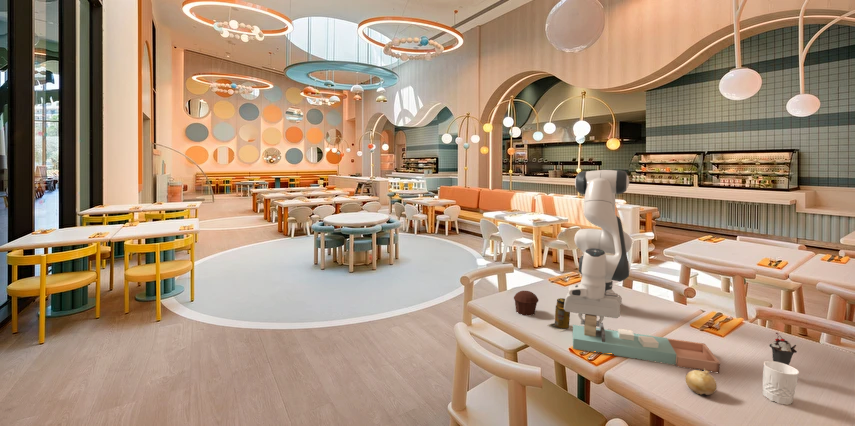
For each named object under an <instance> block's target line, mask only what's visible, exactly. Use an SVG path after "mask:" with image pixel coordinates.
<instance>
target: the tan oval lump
mask: <svg viewBox="0 0 855 426" xmlns="http://www.w3.org/2000/svg"><path fill="white" fill-rule="evenodd" d="M704 370H705V368H704ZM685 383H686V385H687V388H688V389H689V390H690V391H692V392H694V393H695V394H697V395H699V394H700V396H703V395H706V396H711V395H712V394H714V393H715V392H716V390H717V382H716V380H715V378H714V377H713V375H711V372H709V371H706V370H705V371H702V370H696V369H692V370H691V371H689V372H687V374H686V375H685Z"/></svg>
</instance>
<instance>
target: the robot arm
mask: <svg viewBox="0 0 855 426" xmlns="http://www.w3.org/2000/svg"><path fill="white" fill-rule="evenodd" d="M629 185H630V178H629V176H628V173H627V172H626V170H621V169H615V170H614V169H599V170H598V169H597V170H590V171H589V170H588V171H587V170H584V171H579V172H578V173H577V174H576V177H575V178H574V188H575V189H576V192H577V193H578V194H582V195H584V200H583V215H584V217H585V219H586V220H587V221H588V222H589V223H591V224H593V226H597V227H598V228H580V229H578V230H577V231H576V232H575V234H574V238H573V239H574V244H575V246H576V247H577V248H578V249H579V250H580V251H581V252H582V255H581V256H580V257H579V258H578V272H579V273H580V275H581V280H580V283H578V284H572V285H571V284H570V285H569V286H568V288H567V289H568V290H567V291H568V292H567V293H566V294H565V298H564V299H565V302H564V310H565V311H566V312H570V313H573V314H574V313H575V314H578V315H577V316H578V317H579V320H580V325H583V326H584V325H585V318H583V315H585V314H588V315H596V316H597V317H599V319H598V320H597V322H596V327H597V328H600V323H603V320H605V318H611V319H619V317H621V306H620V305H622V303H623V302H622V301H623V300H622V299H623V298H622V296H621V295H620V294H618V293H616V292H615V291H614V290H613V285H614V284H613V283H614V282H613V281H615V282H619V283H620V282H622V281H624V280H626V279H628V278H629V276H630V274H631V266H630V262H629V260H628V259H629V258H628V255H627V254H628V252H629V251H630V250H631V248H632V245H633V244H632V243H633V242H632V239H631V236H630V235H629V234H628V233H627V232H625V231H624V228H623V224H622V221H621V218H620V217H619V216H618V215H616V214H617V213H616V195H621V194H624V193H625V192H626V191H627V190H628V189H629ZM599 228H601V229H599Z"/></svg>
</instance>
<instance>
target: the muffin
mask: <svg viewBox="0 0 855 426" xmlns="http://www.w3.org/2000/svg"><path fill="white" fill-rule="evenodd" d="M513 300H514V305H515V312H516V313H517V312H518V313H517V314H518V315H521V314H522V315H521V316H529V315H531V316H534V315H535V314H536V309H537V304H538V303H539V298H538V296H537V295H536V294H535V293H534V292H532V291H529V290H521V291H518V292H516V293H515V294H514V296H513ZM533 314H534V315H533Z"/></svg>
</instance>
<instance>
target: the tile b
mask: <svg viewBox="0 0 855 426" xmlns="http://www.w3.org/2000/svg"><path fill="white" fill-rule="evenodd" d="M638 341H639V342H640V343H641V345H642V346H643V347H651V348H658V344H659V343H658V342H657V341H656V340H655V338H654V337H647V336H639V340H638Z"/></svg>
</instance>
